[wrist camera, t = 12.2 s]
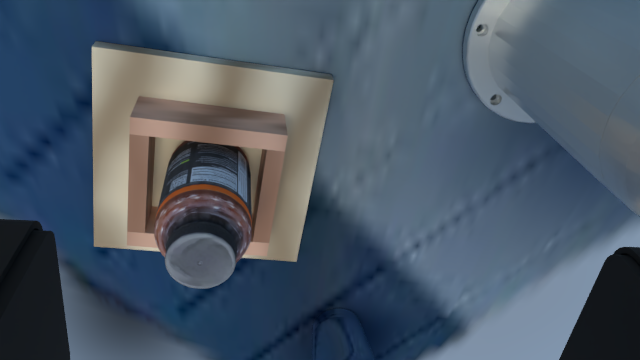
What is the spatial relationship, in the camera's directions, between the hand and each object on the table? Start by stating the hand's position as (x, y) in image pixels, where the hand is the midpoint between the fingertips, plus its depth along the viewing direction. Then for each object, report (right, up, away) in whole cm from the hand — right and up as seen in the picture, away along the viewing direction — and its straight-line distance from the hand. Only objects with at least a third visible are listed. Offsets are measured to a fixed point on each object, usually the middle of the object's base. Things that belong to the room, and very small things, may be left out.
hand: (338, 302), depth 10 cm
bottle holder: (-9, +4, +33) cm, 34 cm away
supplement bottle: (-8, +3, +32) cm, 33 cm away
